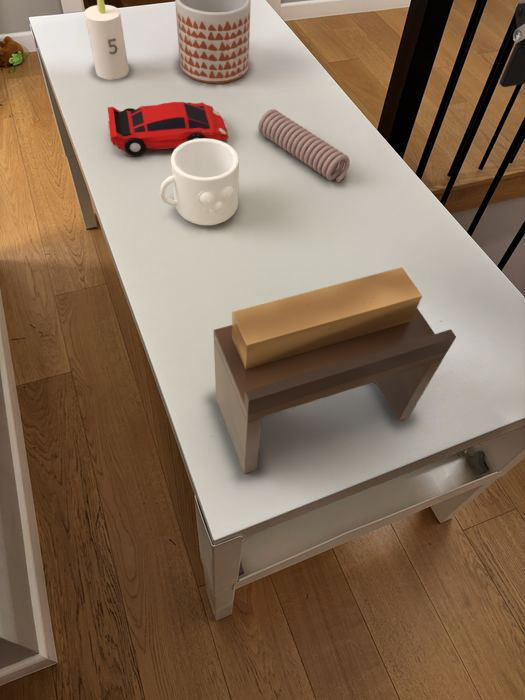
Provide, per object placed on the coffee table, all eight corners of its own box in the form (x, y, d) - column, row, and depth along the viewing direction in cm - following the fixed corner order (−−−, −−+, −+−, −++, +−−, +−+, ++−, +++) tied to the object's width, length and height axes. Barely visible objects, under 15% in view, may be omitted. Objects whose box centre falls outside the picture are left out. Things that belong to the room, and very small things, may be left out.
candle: (102, 83, 102) (85, -5, 90) (91, 66, 105) (73, -21, 93) (134, 76, 104) (121, -11, 92) (121, 60, 107) (108, -26, 95)
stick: (411, 321, 55) (422, 295, 52) (245, 369, 51) (246, 345, 47) (392, 293, 57) (402, 266, 54) (231, 337, 53) (231, 311, 49)
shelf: (408, 417, 64) (456, 336, 51) (244, 474, 59) (248, 400, 46) (370, 352, 70) (404, 263, 56) (215, 399, 65) (212, 313, 51)
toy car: (232, 147, 93) (233, 120, 89) (115, 163, 89) (110, 136, 85) (218, 113, 99) (217, 86, 94) (107, 126, 94) (101, 99, 90)
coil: (355, 153, 86) (277, 104, 93) (336, 162, 84) (258, 110, 91) (347, 178, 90) (273, 129, 97) (329, 187, 88) (254, 136, 95)
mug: (175, 243, 79) (170, 193, 72) (152, 200, 84) (145, 149, 77) (249, 222, 82) (252, 173, 75) (223, 182, 88) (223, 132, 80)
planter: (198, 91, 102) (195, 19, 92) (168, 57, 109) (162, -14, 98) (260, 75, 107) (264, 5, 96) (228, 43, 113) (228, -26, 103)
